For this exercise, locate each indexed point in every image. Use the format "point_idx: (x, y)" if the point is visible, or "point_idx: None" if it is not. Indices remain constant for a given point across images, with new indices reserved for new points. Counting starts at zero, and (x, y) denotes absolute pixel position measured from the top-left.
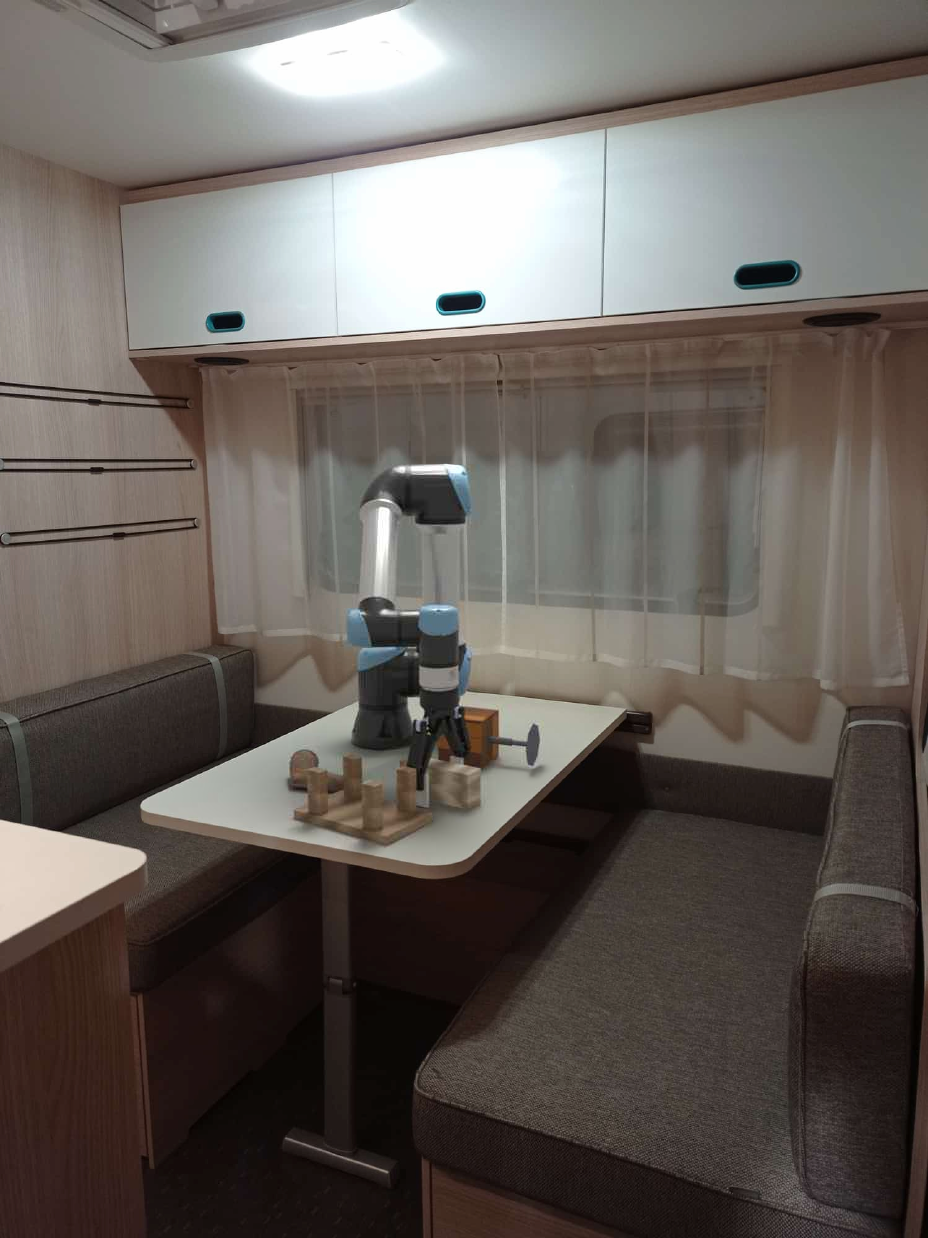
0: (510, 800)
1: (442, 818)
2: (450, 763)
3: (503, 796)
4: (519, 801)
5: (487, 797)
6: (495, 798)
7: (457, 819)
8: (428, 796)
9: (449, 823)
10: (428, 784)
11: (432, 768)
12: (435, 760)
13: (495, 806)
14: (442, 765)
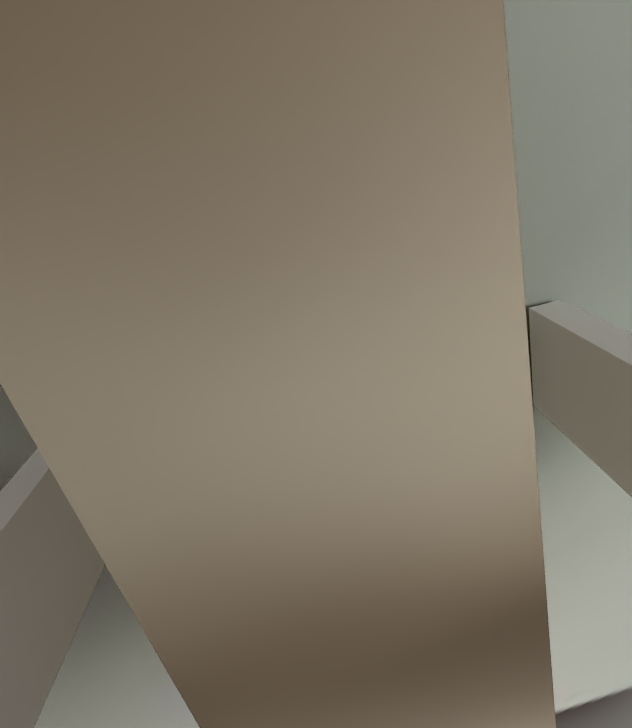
0: (579, 652)
1: (110, 645)
2: (505, 706)
3: (612, 600)
4: (593, 680)
5: (544, 565)
6: (558, 598)
7: (173, 687)
8: (102, 560)
9: (103, 701)
10: (59, 660)
11: (186, 684)
12: (472, 498)
13: None
14: (359, 711)
